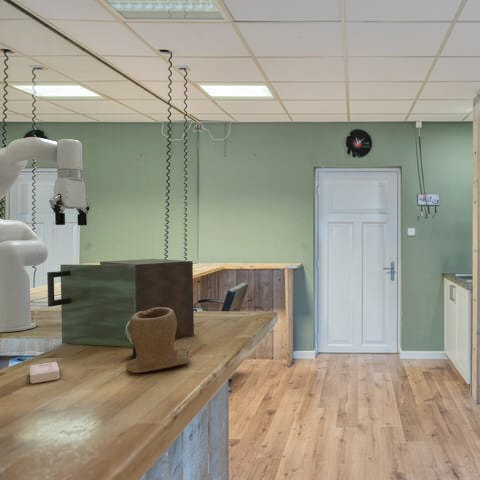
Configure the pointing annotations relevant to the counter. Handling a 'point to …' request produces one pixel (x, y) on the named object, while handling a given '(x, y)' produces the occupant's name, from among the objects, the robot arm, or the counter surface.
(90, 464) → the counter surface
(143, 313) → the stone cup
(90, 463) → the counter surface
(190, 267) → the cupboard
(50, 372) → the soap bar
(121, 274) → the cupboard door
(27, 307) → the robot arm
